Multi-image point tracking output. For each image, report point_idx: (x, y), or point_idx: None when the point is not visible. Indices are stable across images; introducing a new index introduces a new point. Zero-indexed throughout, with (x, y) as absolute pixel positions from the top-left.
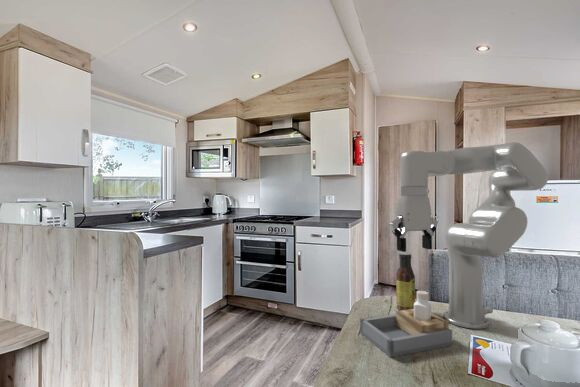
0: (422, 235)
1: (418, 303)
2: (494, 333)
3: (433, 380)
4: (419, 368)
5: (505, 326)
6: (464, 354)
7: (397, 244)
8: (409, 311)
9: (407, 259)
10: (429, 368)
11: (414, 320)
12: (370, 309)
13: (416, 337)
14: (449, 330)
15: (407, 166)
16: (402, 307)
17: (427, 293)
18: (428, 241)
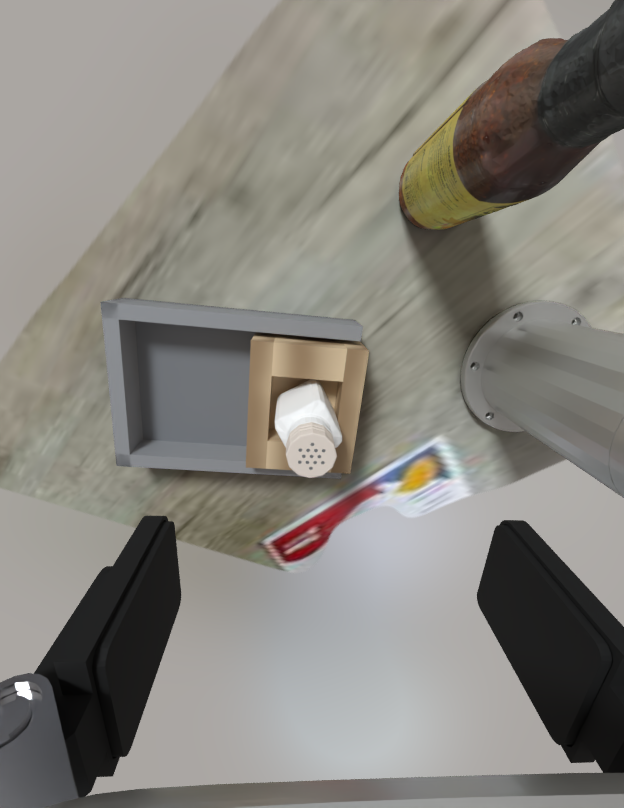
0: (618, 647)
1: (287, 436)
2: (502, 454)
3: None
4: (175, 500)
5: None
6: (322, 495)
7: (89, 601)
8: (297, 363)
9: (613, 114)
10: (197, 507)
11: (253, 430)
12: (291, 106)
13: (211, 470)
14: (333, 476)
15: None
16: (404, 202)
17: (318, 475)
18: (523, 663)
